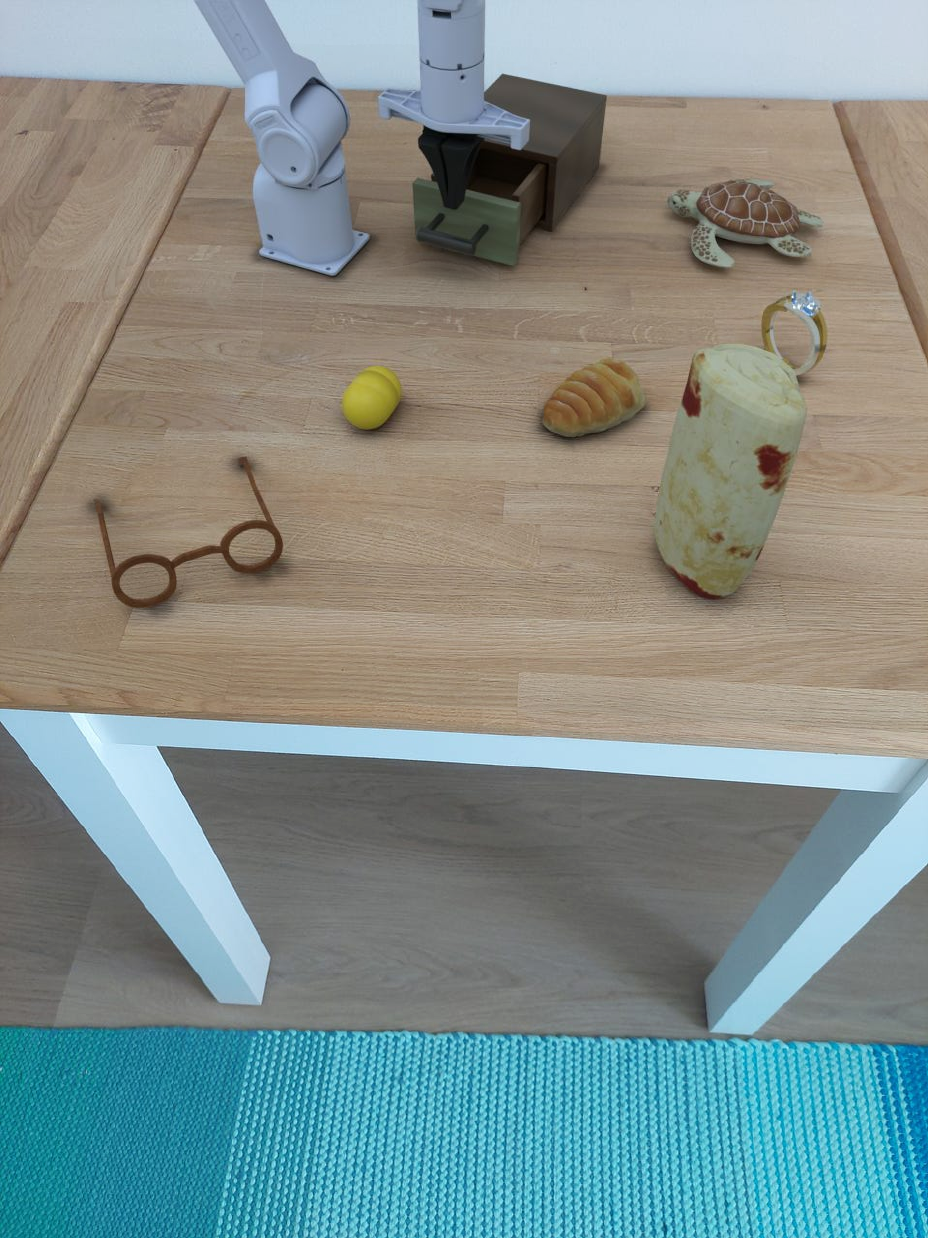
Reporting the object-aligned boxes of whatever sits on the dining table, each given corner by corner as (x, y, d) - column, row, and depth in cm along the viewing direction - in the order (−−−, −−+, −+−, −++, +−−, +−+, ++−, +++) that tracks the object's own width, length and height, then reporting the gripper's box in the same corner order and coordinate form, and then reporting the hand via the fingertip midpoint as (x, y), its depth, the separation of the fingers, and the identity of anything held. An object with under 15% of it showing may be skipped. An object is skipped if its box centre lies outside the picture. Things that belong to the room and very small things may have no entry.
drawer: (495, 290, 95) (496, 232, 89) (394, 263, 98) (390, 205, 92) (562, 201, 104) (567, 144, 99) (469, 179, 107) (468, 122, 102)
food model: (625, 548, 76) (665, 344, 59) (687, 514, 78) (743, 308, 62) (706, 629, 71) (775, 432, 55) (771, 591, 73) (855, 389, 57)
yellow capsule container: (378, 445, 83) (374, 407, 79) (335, 431, 84) (329, 392, 80) (411, 401, 86) (408, 363, 83) (369, 388, 87) (365, 350, 84)
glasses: (126, 618, 72) (105, 577, 68) (94, 504, 79) (74, 461, 75) (289, 565, 75) (278, 523, 71) (245, 460, 82) (233, 416, 78)
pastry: (573, 456, 82) (577, 423, 79) (523, 416, 85) (525, 383, 82) (649, 411, 85) (655, 377, 82) (598, 374, 88) (602, 340, 85)
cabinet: (551, 231, 103) (557, 156, 96) (447, 205, 106) (445, 131, 99) (599, 167, 110) (607, 94, 104) (500, 145, 114) (502, 72, 107)
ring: (817, 386, 87) (845, 313, 81) (789, 396, 86) (815, 323, 80) (772, 344, 91) (795, 270, 84) (745, 353, 90) (766, 280, 84)
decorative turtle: (688, 175, 109) (696, 132, 105) (831, 207, 105) (845, 163, 101) (639, 257, 99) (646, 213, 95) (794, 296, 95) (808, 251, 91)
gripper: (546, 52, 81) (537, 200, 92) (399, 22, 85) (407, 168, 96) (514, 86, 78) (508, 236, 89) (362, 54, 81) (374, 201, 92)
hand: (454, 203), depth 92 cm, fingers closed
